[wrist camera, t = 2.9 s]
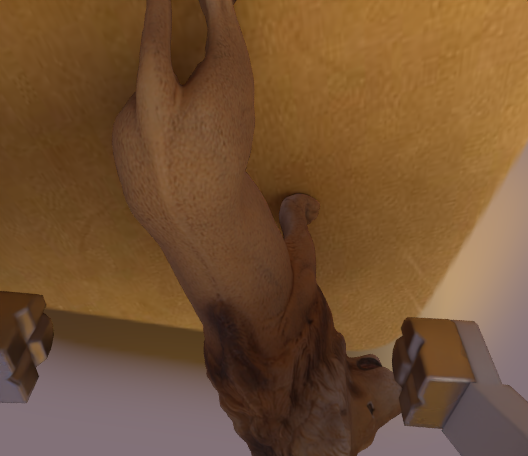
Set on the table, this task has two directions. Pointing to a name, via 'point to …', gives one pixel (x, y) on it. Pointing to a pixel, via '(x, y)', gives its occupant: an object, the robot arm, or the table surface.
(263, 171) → the table surface
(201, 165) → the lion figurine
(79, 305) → the table surface
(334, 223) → the table surface
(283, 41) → the table surface
